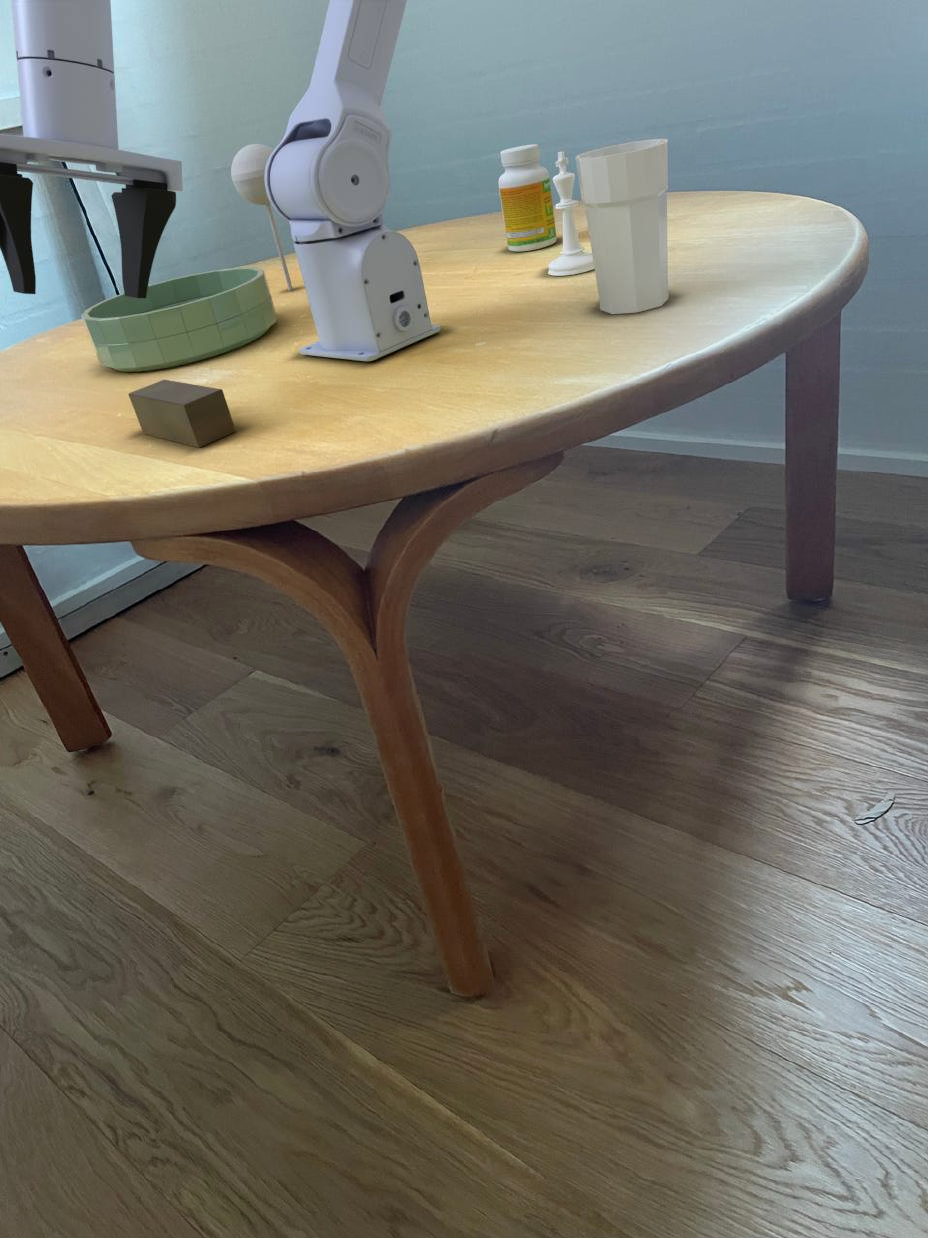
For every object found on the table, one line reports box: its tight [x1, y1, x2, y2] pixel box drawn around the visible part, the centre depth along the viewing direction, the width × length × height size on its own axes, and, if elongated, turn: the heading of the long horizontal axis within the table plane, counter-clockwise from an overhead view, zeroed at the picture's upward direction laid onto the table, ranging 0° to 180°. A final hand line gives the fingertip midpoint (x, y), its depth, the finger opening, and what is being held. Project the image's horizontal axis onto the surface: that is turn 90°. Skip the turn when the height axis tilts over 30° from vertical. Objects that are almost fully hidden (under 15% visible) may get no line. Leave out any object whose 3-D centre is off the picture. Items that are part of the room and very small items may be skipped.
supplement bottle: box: [497, 143, 557, 253], centre depth 97 cm, size 5×5×10 cm
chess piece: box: [547, 150, 595, 277], centre depth 83 cm, size 5×5×10 cm
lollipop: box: [230, 143, 294, 292], centre depth 100 cm, size 6×6×15 cm
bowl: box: [80, 266, 277, 373], centre depth 87 cm, size 17×17×5 cm
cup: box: [575, 138, 670, 315], centre depth 68 cm, size 7×7×11 cm
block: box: [128, 379, 237, 448], centre depth 63 cm, size 8×3×3 cm, turn 46°
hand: (82, 295), depth 63 cm, fingers open, 7 cm apart
